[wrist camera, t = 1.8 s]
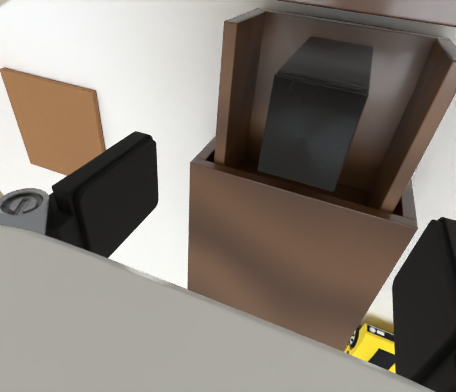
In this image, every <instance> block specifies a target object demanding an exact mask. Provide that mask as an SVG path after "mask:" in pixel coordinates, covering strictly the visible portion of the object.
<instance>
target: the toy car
mask: <svg viewBox="0 0 456 392" xmlns="http://www.w3.org/2000/svg"><path fill="white" fill-rule="evenodd" d="M344 352H345V353H348V354H350V355H352V356H355V357H357V358H360V359H362V360H364V361H367V362H369V363H372V364H374V365H376V366H379V367H381V368H384V369H386V370H388V371H391V372H393V373H395V347H394V334H391V333H389V332H386V331H384V330H381V329H379V328H376V327H374V326H371V325H368V324H364V325H363V326H362V328H361V329H360V328H359V327H357V329H356V330H355V332H354V333H353V335H352V337H351V338H350V340H349V345H348V347H347V348H346V349H345V351H344Z"/></svg>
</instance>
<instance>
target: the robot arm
mask: <svg viewBox="0 0 456 392" xmlns="http://www.w3.org/2000/svg"><path fill="white" fill-rule="evenodd" d="M52 190H53V193H52V194H50V195H48V194H47V193H46V192H45V191H43V190H40V189H34V188H26V189H20V190H16V191H13V192H10V193H8V194H6V195H4V196H2V197H1V198H0V392H456V221H455V220H451V219H448V218H444V217H441V218H440V219H438V221H437V220H431V221H430V223H429V224H428V226H427V227H426V229H425V231H424V232H423V234H422V235H421V237H420V238H419V240H418V242H417V243H416V245H415V246H414V248H413V250H412V251H411V253H410V254H409V256H408V258H407V259H406V261H405V262H404V264H403V266H402V267H401V269H400V270H399V272H398V274H397V275H396V277H395V279H394V281H393V286H392V294H393V321H394V347H395V373H393V372H391V371H388V370H386V369H384V368H381V367H379V366H376V365H374V364H372V363H369V362H367V361H364V360H362V359H360V358H357V357H355V356H352V355H350V354H348V353H345V352H343V351H340V350H338V349H335V348H333V347H330V346H328V345H325V344H323V343H321V342H318V341H316V340H313V339H311V338H308V337H306V336H303V335H301V334H298V333H296V332H293V331H291V330H288V329H286V328H283V327H281V326H278V325H276V324H273V323H271V322H268V321H266V320H263V319H261V318H258V317H256V316H253V315H251V314H248V313H246V312H243V311H241V310H238V309H236V308H233V307H230V306H228V305H225V304H223V303H220V302H218V301H215V300H213V299H210V298H208V297H205V296H203V295H200V294H198V293H195V292H193V291H190V290H187V289H185V288H182V287H180V286H177V285H175V284H172V283H170V282H167V281H165V280H162V279H160V278H157V277H154V276H152V275H149V274H147V273H144V272H142V271H139V270H136V269H134V268H131V267H129V266H126V265H124V264H121V263H118V262H116V261H113V260H111V259H108V257H109V256H110V255H111V254H112V253H113V252H114V251H115V250H116V249H117V248H118V247H119V246H120V245H121V244H122V243H123V242H124V240H125V239H126V238H127V237H128V236H129V235H130V234H131V233H132V232H133V231H134V230H135V229H136V228H137V227H138V226H139V225H140V223H141V222H142V221H143V220H144V219H145V218H146V217H147V216H148V215H149V214H150V213H151V212H152V211H153V210H154V209H155V207H156V206H157V203H158V177H157V153H156V142H155V141H154V140H153V139H152V136H150V135H148V134H144V133H141V132H136V131H135V132H133V133H132V134H130V135H129V136H127V137H125V138H124V139H122V140H121V141H119V142H118V143H116V144H115V145H113V146H112V147H110V148H109V149H107V150H106V151H104V152H103V153H101V154H100V155H98V156H97V157H95V158H94V159H92V160H91V161H89V162H88V163H86V164H85V165H83V166H82V167H80V168H79V169H77V170H76V171H74V172H73V173H71V174H70V175H68V176H67V177H65V178H64V179H62V180H61V181H59V182H57V183H56V184H54V185H53V186H52Z"/></svg>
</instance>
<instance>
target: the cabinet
mask: <svg viewBox="0 0 456 392" xmlns="http://www.w3.org/2000/svg"><path fill="white" fill-rule="evenodd" d="M215 141H216V136H215V137H214V138H213V139H212V140H211V141H210V142H209V144H208V145H207V146H206V147H205V148H204V149H203V150H202V151H201V152H200V153H199V154H198V155H197V156H196V157H195V158H194V159H193V160H192V161H191V162H190V196H189V245H188V290H190V291H193V292H195V293H198V294H200V295H203V296H205V297H208V298H210V299H213V300H215V301H218V302H220V303H223V304H225V305H228V306H230V307H233V308H236V309H238V310H241V311H243V312H246V313H248V314H251V315H253V316H256V317H258V318H261V319H263V320H266V321H268V322H271V323H273V324H276V325H278V326H281V327H283V328H286V329H288V330H291V331H293V332H296V333H298V334H301V335H303V336H306V337H308V338H311V339H313V340H316V341H318V342H321V343H323V344H325V345H328V346H330V347H333V348H335V349H338V350H340V351H343V350H344V348H345V346H346V345H347V343H348V342H349V340H350V338H351V337H352V335H353V333H354V332H355V330H356V329H357V327H358V325H359V324H360V322H361V320H362V319H363V317H364V316H365V314H366V312H367V311H368V309H369V307H370V306H371V304H372V303H373V301H374V299H375V298H376V296H377V294H378V293H379V291H380V289H381V288H382V286H383V285H384V283H385V281H386V280H387V278H388V276H389V275H390V273H391V272H392V270H393V268H394V267H395V265H396V263H397V262H398V260H399V259H400V257H401V255H402V254H403V252H404V250H405V249H406V247H407V245H408V244H409V242H410V241H411V239H412V237H413V236H414V234H415V232H416V231H417V229H418V227H417V219H416V211H415V204H414V196H413V189H412V182H411V179H410V181H409V183H408V185H407V186H406V188H405V190H404V192H403V194H402V196H401V198H400V200H399V202H398V203H397V205H396V207H395V209H394V211H393V213H392V214H391V213H388V212H384V211H381V210H377V209H374V208H370V207H367V206H363V205H360V204H356V203H353V202H349V201H346V200H342V199H339V198H335V197H332V196H328V195H325V194H321V193H318V192H314V191H311V190H307V189H304V188H300V187H297V186H293V185H290V184H286V183H283V182H279V181H276V180H272V179H269V178H265V177H261V176H258V175H254V174H251V173H247V172H244V171H240V170H237V169H233V168H230V167H226V166H223V165H219V164H216V163H214V155H215Z"/></svg>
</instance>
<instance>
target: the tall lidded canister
mask: <svg viewBox="0 0 456 392" xmlns="http://www.w3.org/2000/svg"><path fill="white" fill-rule="evenodd" d="M372 57H373V47H370V46H364V45H358V44H352V43H347V42H341V41H335V40H329V39H324V38H318V37H312V36H311V37H310V38H309V39H308V40H307V41H306V42H305V43H304V44H303V45H302V46H301V47H300V48H299V49H298V50H297V51H296V52H295V53H294V54H293V55H292V57H291V58H290V59H289V60H288V61H287V62H286V63H285V64H284V65H283V66H282V67H281V68H280V69H279V70H278V71H277V72H276V74H275V75H274V77H273V83H272V89H271V95H270V101H269V106H268V112H267V118H266V124H265V130H264V135H263V141H262V147H261V153H260V159H259V164H258V171H261V172H265V173H268V174H272V175H275V176H279V177H282V178H286V179H289V180H293V181H297V182H300V183H304V184H307V185H311V186H314V187H318V188H321V189H325V190H329V191H334V190H335V187H336V184H337V182H338V179H339V176H340V173H341V170H342V168H343V165H344V162H345V159H346V157H347V154H348V151H349V148H350V146H351V143H352V140H353V137H354V135H355V132H356V129H357V126H358V123H359V121H360V118H361V115H362V112H363V110H364V107H365V104H366V101H367V99H368V96H369V87H370V77H371V67H372Z"/></svg>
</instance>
